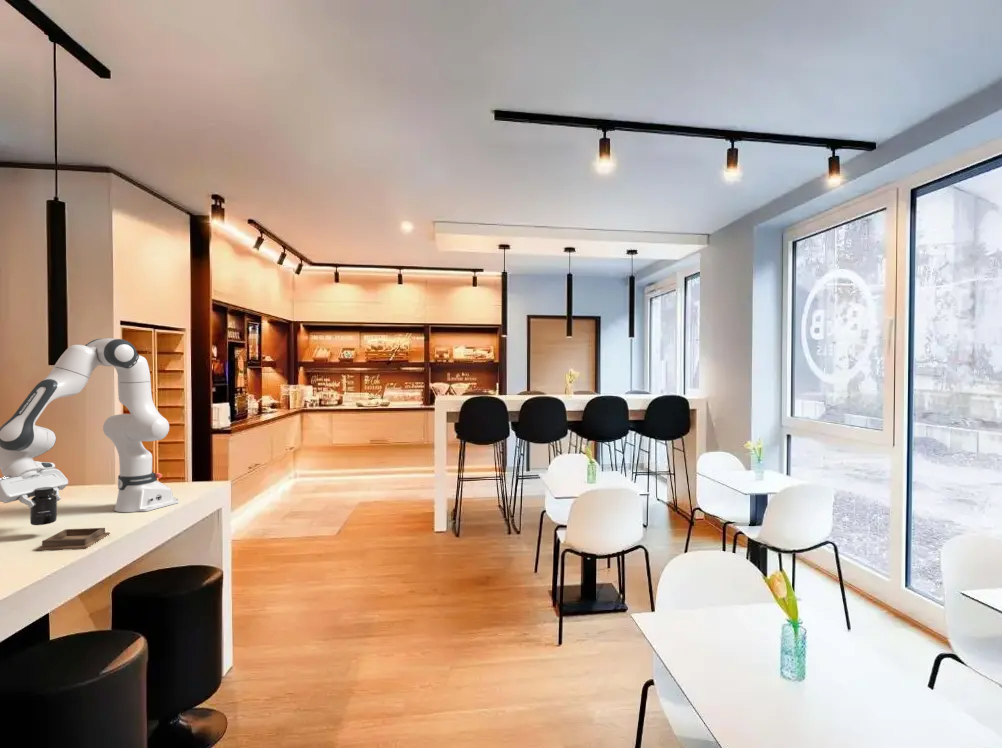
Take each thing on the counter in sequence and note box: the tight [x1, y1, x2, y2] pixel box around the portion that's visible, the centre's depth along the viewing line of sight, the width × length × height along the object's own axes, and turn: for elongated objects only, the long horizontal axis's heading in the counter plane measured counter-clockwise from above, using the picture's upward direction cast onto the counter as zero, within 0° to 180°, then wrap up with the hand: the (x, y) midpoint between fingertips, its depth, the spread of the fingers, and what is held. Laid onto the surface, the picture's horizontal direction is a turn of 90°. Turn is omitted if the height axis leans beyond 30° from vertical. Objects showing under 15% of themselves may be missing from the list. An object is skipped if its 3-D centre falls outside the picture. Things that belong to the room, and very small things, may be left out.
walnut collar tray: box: [35, 527, 111, 552], centre depth 171 cm, size 14×14×3 cm
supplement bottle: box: [29, 487, 58, 526], centre depth 176 cm, size 7×7×12 cm
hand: (46, 503), depth 176 cm, fingers closed on supplement bottle, 6 cm apart
